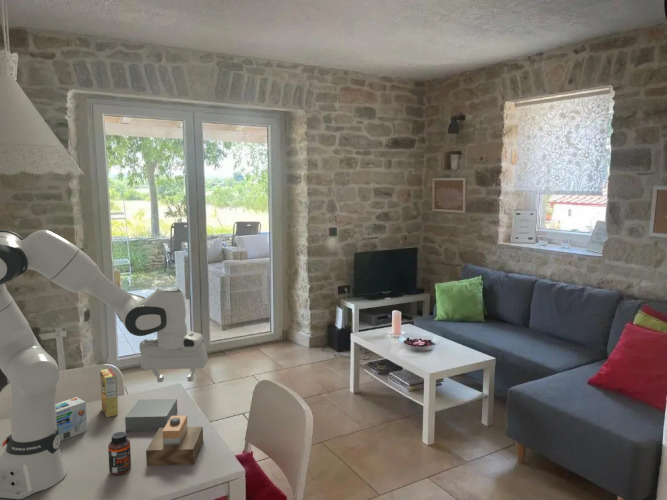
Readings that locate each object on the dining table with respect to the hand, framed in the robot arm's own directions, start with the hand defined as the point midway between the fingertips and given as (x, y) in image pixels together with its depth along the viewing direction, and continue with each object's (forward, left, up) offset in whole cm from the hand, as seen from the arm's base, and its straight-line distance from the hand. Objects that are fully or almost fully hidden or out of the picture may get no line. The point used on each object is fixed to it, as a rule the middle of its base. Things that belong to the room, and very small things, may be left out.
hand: (175, 381), depth 152 cm
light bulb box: (-40, +13, -24) cm, 49 cm away
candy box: (-32, +29, -24) cm, 49 cm away
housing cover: (0, -1, -16) cm, 16 cm away
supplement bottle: (-14, -10, -24) cm, 29 cm away
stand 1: (-14, +21, -23) cm, 34 cm away
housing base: (0, -1, -18) cm, 18 cm away
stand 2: (0, -1, -23) cm, 23 cm away
